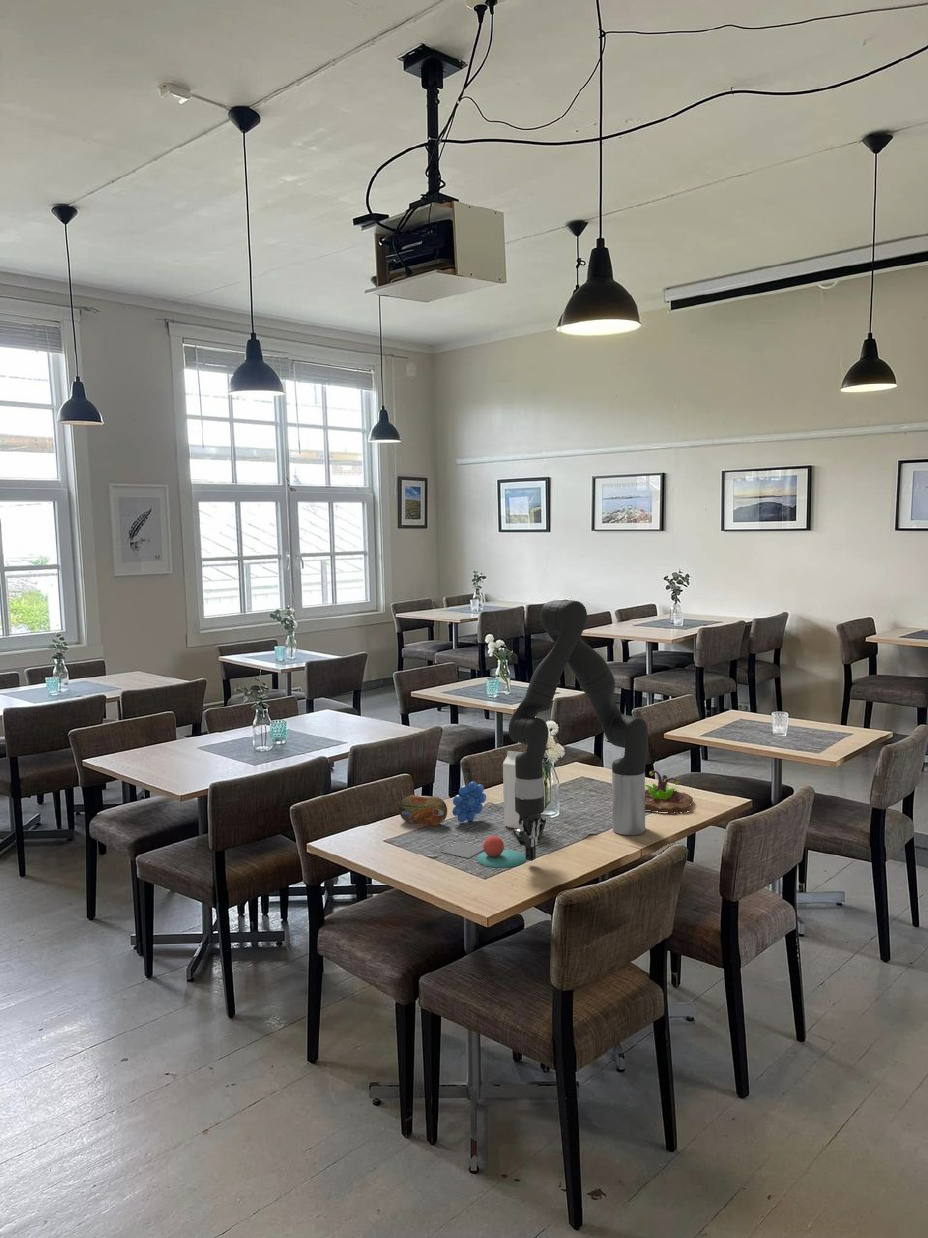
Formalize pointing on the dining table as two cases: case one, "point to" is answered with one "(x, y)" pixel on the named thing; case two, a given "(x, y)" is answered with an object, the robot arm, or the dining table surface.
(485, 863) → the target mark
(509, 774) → the milk
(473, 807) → the grapes
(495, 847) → the ball
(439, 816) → the tin
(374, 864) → the dining table surface
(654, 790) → the plant
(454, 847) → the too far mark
